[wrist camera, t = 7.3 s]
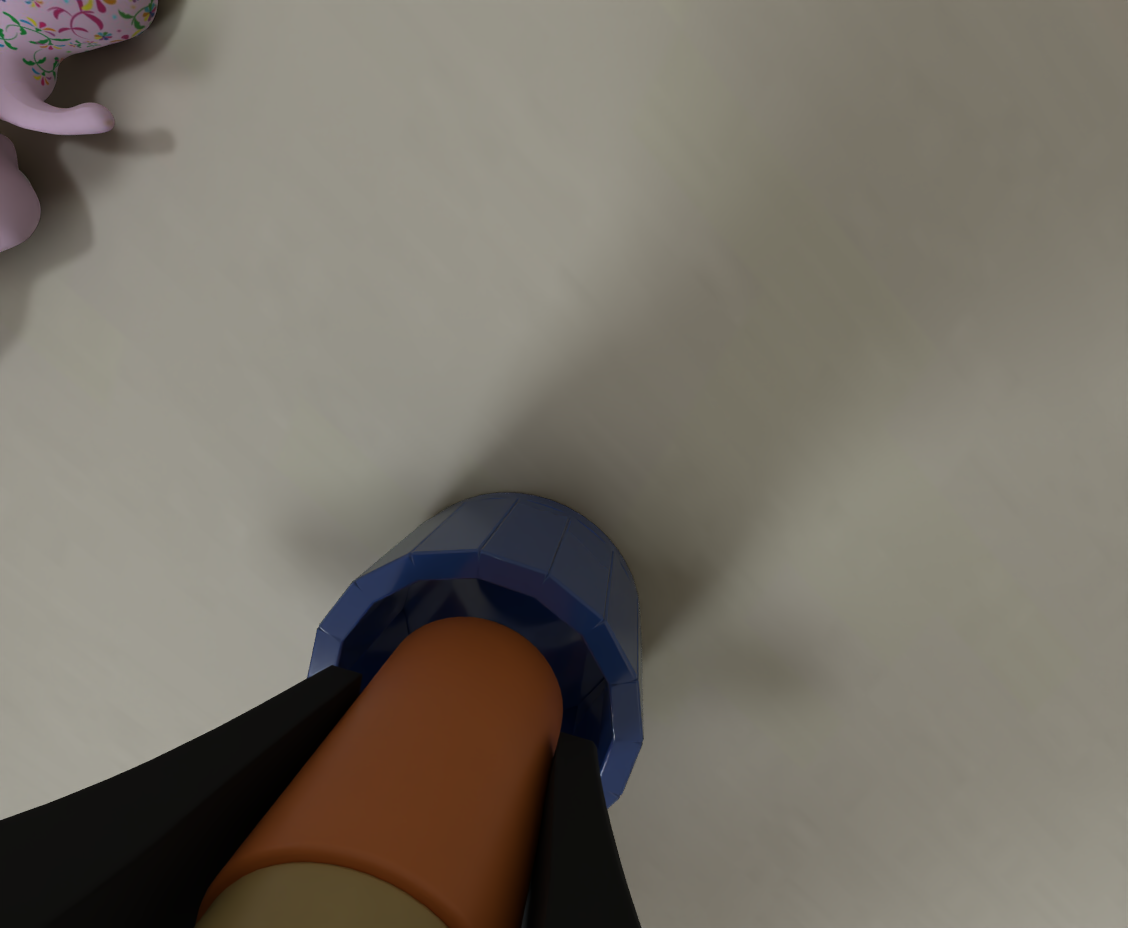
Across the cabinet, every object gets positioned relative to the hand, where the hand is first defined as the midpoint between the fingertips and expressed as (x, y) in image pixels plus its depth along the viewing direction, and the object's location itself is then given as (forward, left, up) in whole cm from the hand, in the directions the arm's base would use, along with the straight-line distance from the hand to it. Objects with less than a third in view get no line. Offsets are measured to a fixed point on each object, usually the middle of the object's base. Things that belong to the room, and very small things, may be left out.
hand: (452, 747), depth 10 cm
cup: (0, 0, -5) cm, 5 cm away
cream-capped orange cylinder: (0, 0, -1) cm, 1 cm away
